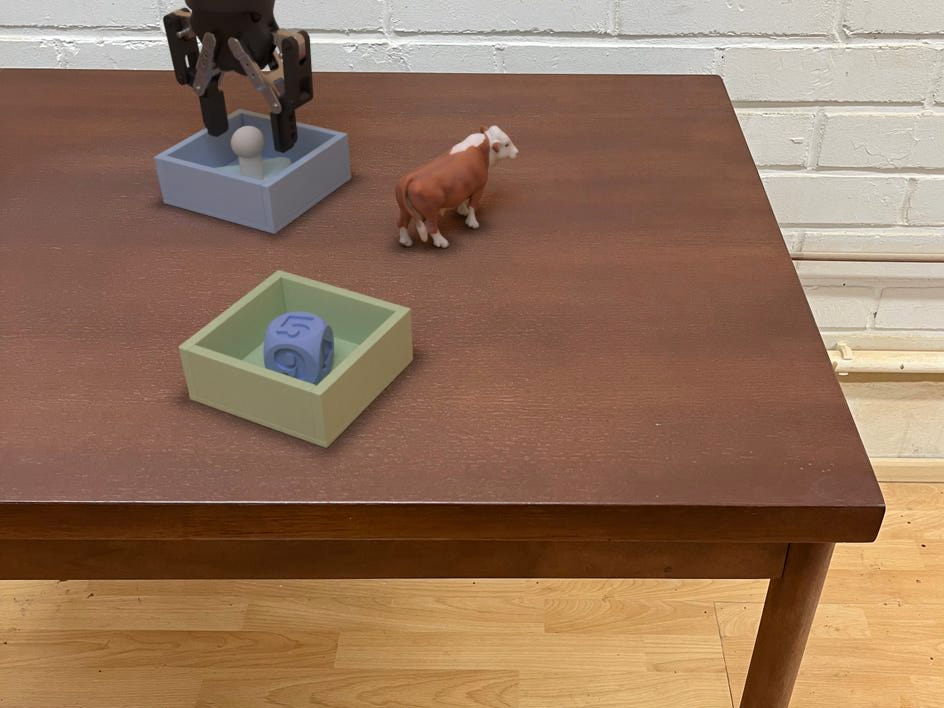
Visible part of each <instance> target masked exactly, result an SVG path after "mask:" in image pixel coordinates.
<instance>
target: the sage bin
mask: <svg viewBox="0 0 944 708" xmlns="http://www.w3.org/2000/svg"><path fill="white" fill-rule="evenodd" d="M291 312H308V313H312V314H315V315H317V316H319V317H320V318H322V319H323V320H324V321H325V322H326V323H327V324H328V325H329V326H330V327H331V329H332V332H333V337H334V356H333V363H332V368H331V371H330V374H329V375H327V376H326V377H325V378H324V379H323V380H322V381H321V382H320V383H319V384H318V385H314V384H311V383H308V382H305V381H302V380H299V379H296V378H293V377H290V376H287V375H284V374H281V373H278V372H275V371H272V370H269V369H266V368H265V364H264V355H263V350H264V339H265V334H266V331H267V328H268V326H269V324H270V323H271V322H272V321H273V320H274V319H275V318H277V317H279V316H281V315H283V314H286V313H291ZM412 324H413V323H412V307H411V308H410V307H407V306H404V305H401V304H396V303H393V302H390V301H387V300H384V299H379V298H376V297H373V296H369V295H366V294H363V293H359V292H356V291H352V290H350V289H346V288H342V287H338V286H335V285H332V284H328V283H325V282H322V281H319V280H315V279H312V278H308V277H305V276H301V275H297V274H294V273H290V272H287V271H284V270H281V269H278V270H276V271H275V272H274V273H272V274H271V275H270V276H268V277H267V278H266V279H264V280H263V281H262V282H261V283H259V284H258V285H257V286H255V287H254V288H252V289H251V290H250V291H249V292H247V293H246V294H245V295H244V296H242V297H241V298H240V299H238V300H237V301H235V302H234V303H233V304H231V306H230V307H228V308H227V309H225V310H224V311H223V312H222V313H220V314H219V315H218V316H217V317H215V318H214V319H212V320H211V321H210V322H209V323H207V324H206V325H204V327H202V328H201V329H200V330H198V331H197V332H195V333H194V334H192V336H190V337H189V338H188V339H186V340H184V342H182V343H181V344H180V345H179V346H178V348H177V349H178V353H179V357H180V362H181V365H182V370H183V375H184V379H185V383H186V388H187V392H188V397H189V400H191V401H193V402H196V403H199V404H203V405H205V406H207V407H210V408H214V409H216V410H219V411H222V412H224V413H227V414H230V415H233V416H235V417H239V418H241V419H244V420H247V421H250V422H253V423H255V424H258V425H260V426H263V427H266V428H269V429H271V430H275V431H278V432H280V433H283V434H286V435H288V436H291V437H294V438H296V439H300V440H302V441H305V442H308V443H311V444H313V445H316V446H319V447H322V448H324V449H328V448H329V447H330V446H331V444H332V443H334V441H335V440H336V439H338V438H339V437H340V435H341V434H343V433H344V431H345V430H346V429H347V428H348V427H349V426H350V425H351V424H352V423H353V422H354V421H355V420H356V419H358V417H360V415H361V414H362V413H363V412H364V411H365V410H366V409H367V408H368V407H369V406H370V405H371V404H372V403H373V401H375V400H376V399H377V398H378V397H379V396H380V395H381V393H383V391H384V390H385V389H386V388H387V387H388V386H390V384H391V383H392V382H393V381H394V380H395V379H396V378H397V377H398V376H399V375H400V374H401V373H402V372H403V371H404V370H405V369H407V367H408V366H409V365H410V364H411V363H412V361H414V346H413V326H412Z"/></svg>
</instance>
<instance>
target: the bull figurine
mask: <svg viewBox="0 0 944 708" xmlns="http://www.w3.org/2000/svg"><path fill="white" fill-rule="evenodd" d="M479 130H480V133H478V132H477V133H472V134H470V135H468V136H467V137H466V138H465V139H464V140H462V141H461V142H459V143H457V144H455V145H453V146H451V147H450V148H449V149H447V151H445V152H444V153H443V154H441V155H440V156H438V157H435V158H434V159H432V160H430V161H428V162H427V163H425V164H424V163H423V164H422V165H419V166H418V167H415V168H414V169H412V170H411V171H409V172H407V173H405V174H404V175H402V176H401V177H400V179H399V180H398V181H397V183H396V185H395V191H394V192H395V199H396V202H397V205H398V207H399V209H400V215H399V218H398V219H397V221H396V226H397V229H398V231H399V243H400V244H402V246H405V247H411V246H413V245H414V242H413V240H412V238H411V237H410V235H409V226H410V223H411V220H412V219H413V220H414V222H415V228H416V231H417V233H418V235H419V238H420V240H421V241H423V242H424V243H425V242H427V241H428V234H429V235H430V237H431V238H432V240H433V242H432V244H433V246H436V247H437V248H440V247H441V248H443V249H444V248H448V247H449V246H450V243H449V241H448V240H447V239H446V238H445V237H444V236H442V234H441V233H440V230H439V227H438V218H439V217H443V216H444V215H445V211H446V210H453V209H456V208H457V214H459V215H460V216H464V217H466V216H467V217H466V219H465V225H467V226H468V227H469V228H472V229H473V230H474V229H478V228H480V224H479V222H478V221H477V218H476V212H477V210H478V209H479V206H480V200H481V198H482V196H483V194H484V191H485V187H486V185H487V182H488V178H489V173H490V170H491V169H492V167H496V166H498V165H500V164H501V162H503V161H504V160H505V159H510V160H515V159H517V158H518V154H519V149H518V148H517V147H516V146H515V145H514V143H513V142H512V140H511V139H510V137H509V136H508V134H506V133H505V132H504V131H503V130H501V128H499V127H498V126H497V125H492V126H491V125H490V127H488V126H487V125H481V126H480V128H479ZM467 200H468V204H466V201H467ZM467 205H468V206H467Z"/></svg>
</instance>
